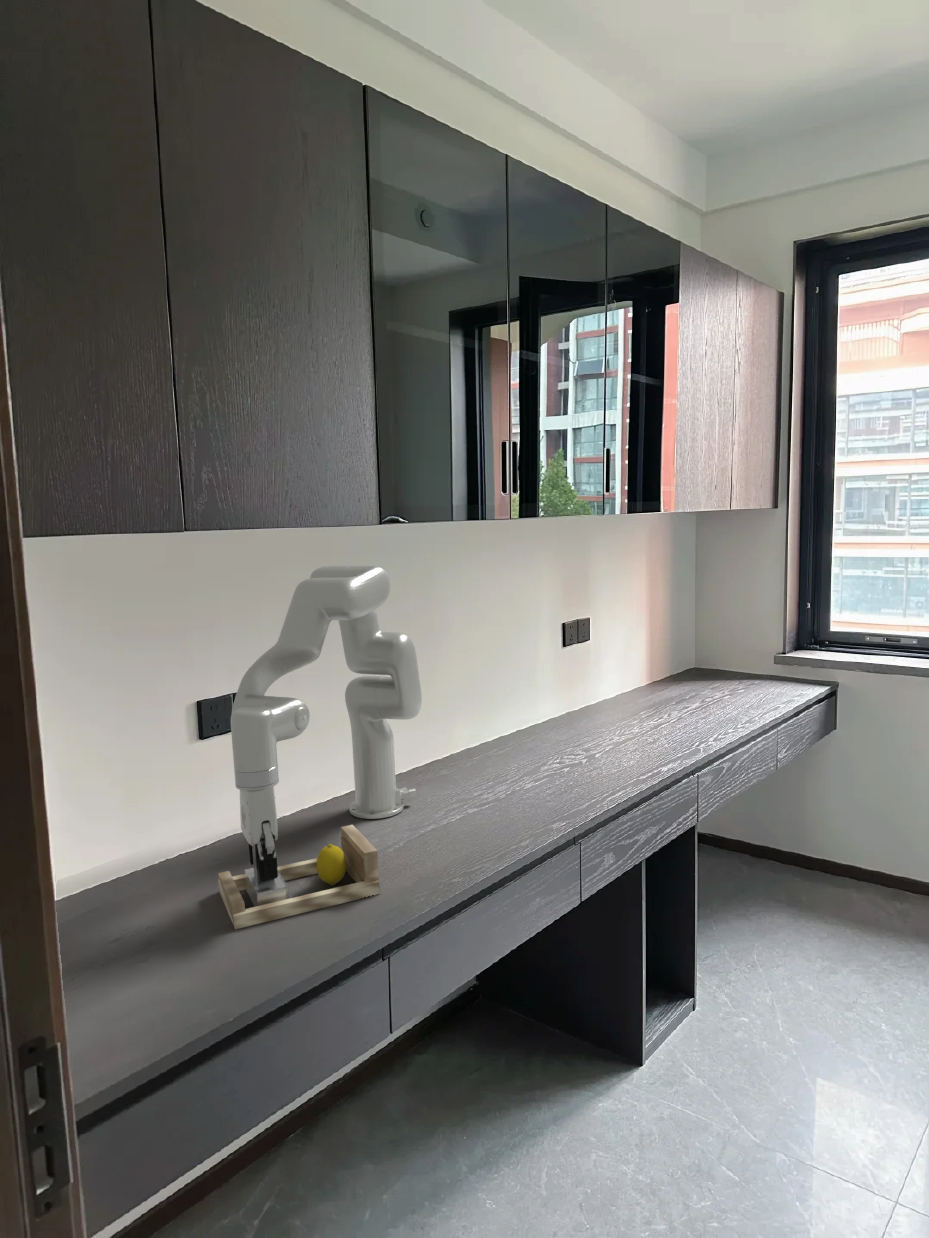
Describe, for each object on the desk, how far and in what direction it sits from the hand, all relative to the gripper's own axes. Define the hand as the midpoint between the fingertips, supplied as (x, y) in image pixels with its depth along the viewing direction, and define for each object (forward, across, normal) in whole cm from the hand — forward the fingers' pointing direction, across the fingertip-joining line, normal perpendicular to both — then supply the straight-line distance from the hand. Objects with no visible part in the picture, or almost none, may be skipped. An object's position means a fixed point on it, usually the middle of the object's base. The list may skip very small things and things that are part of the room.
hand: (263, 870), depth 152 cm
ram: (+5, 0, 0) cm, 5 cm away
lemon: (+6, 0, +12) cm, 14 cm away
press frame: (+6, 0, +6) cm, 8 cm away
